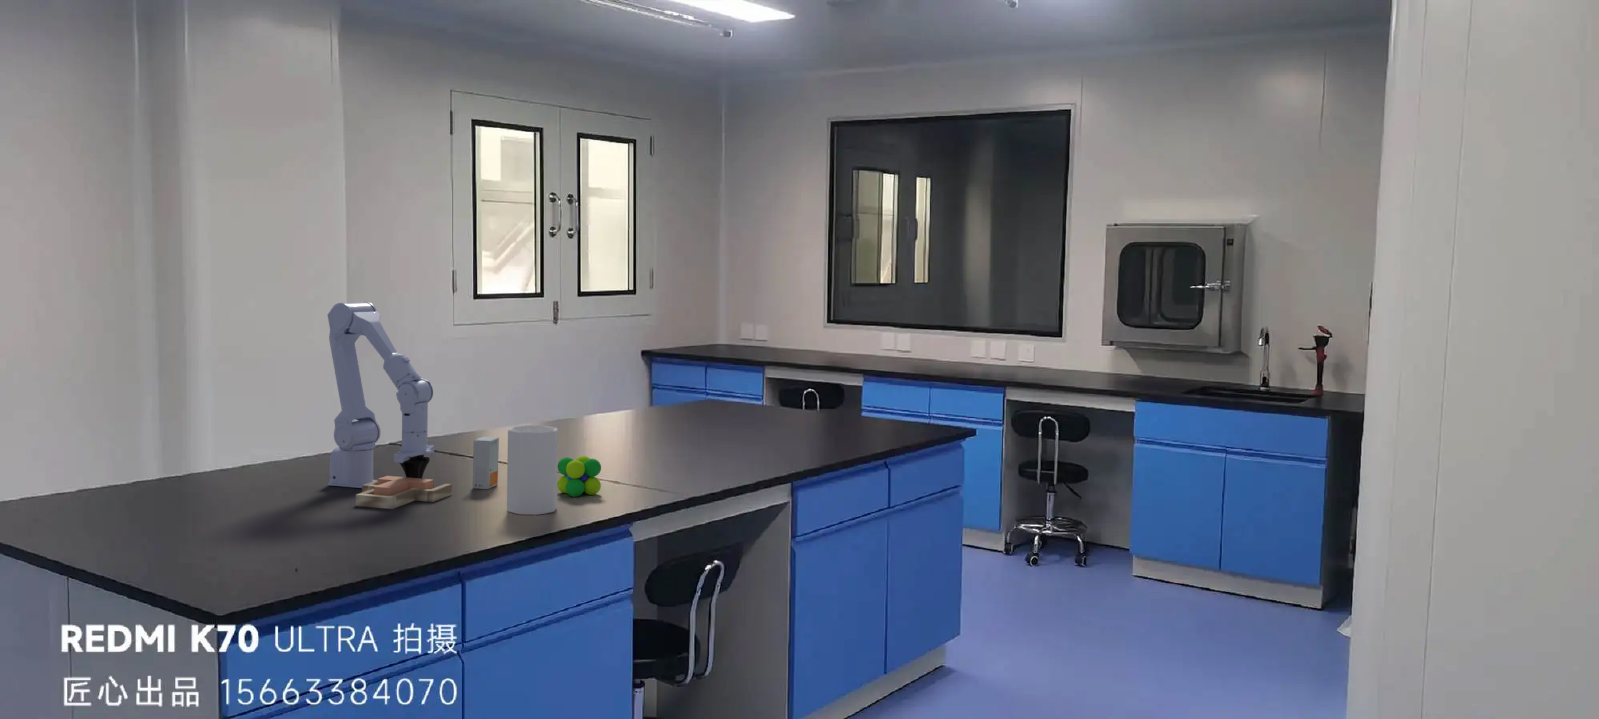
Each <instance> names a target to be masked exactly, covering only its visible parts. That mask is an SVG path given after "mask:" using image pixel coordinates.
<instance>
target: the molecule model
mask: <svg viewBox="0 0 1599 719" xmlns="http://www.w3.org/2000/svg"><path fill="white" fill-rule="evenodd" d="M601 471H602V464H601V463H600V461H599V460H598V459H595V458H591V457H589V456H586V455H580V456H578V457H576V459H574V458H572V457H570V456H566V457H565V456H564V457H562V458H561V459H559V461H558V462H557V472H559V474H561V475H562V476H560V477H559V479H557V490H558V491H560V492H561V493H563V494H568V495H569V496H571V497H575V498H577V497H580V496H581V495H582V494H583V493H585V494H587V495H589V496H593V495H596V494H597V493H599V491H600V490H601V487H602V484H601V482H600V480H599V478H597V476H598V475H599V474H600V473H601Z"/></svg>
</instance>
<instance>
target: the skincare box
mask: <svg viewBox="0 0 1599 719" xmlns="http://www.w3.org/2000/svg"><path fill="white" fill-rule="evenodd" d="M499 442H500V437H495V436H482V437H478V438H477V439H474V440H473V454H472V456H473V457H472V459H473V461H472V489H476V490H477V489H480V490H490V489H491V488H494V487H496V486H498V484H499V450H500V449H499V444H500V443H499Z"/></svg>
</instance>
